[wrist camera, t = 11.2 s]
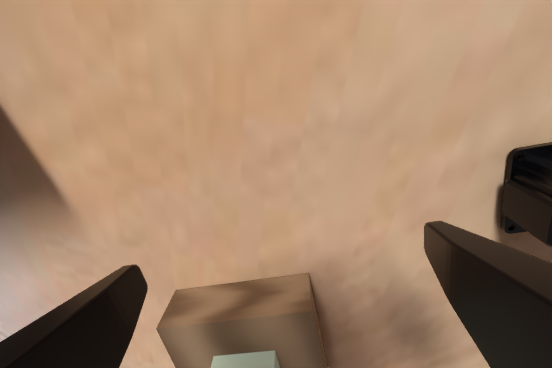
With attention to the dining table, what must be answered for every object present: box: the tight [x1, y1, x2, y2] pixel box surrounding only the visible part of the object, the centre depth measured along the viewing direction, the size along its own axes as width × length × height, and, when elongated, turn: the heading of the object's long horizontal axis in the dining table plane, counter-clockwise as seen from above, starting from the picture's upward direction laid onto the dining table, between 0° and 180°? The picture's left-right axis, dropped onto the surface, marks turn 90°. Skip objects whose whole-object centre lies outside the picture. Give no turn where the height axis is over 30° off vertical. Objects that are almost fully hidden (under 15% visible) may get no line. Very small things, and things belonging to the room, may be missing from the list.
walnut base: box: [156, 273, 327, 368], centre depth 25 cm, size 12×12×4 cm
